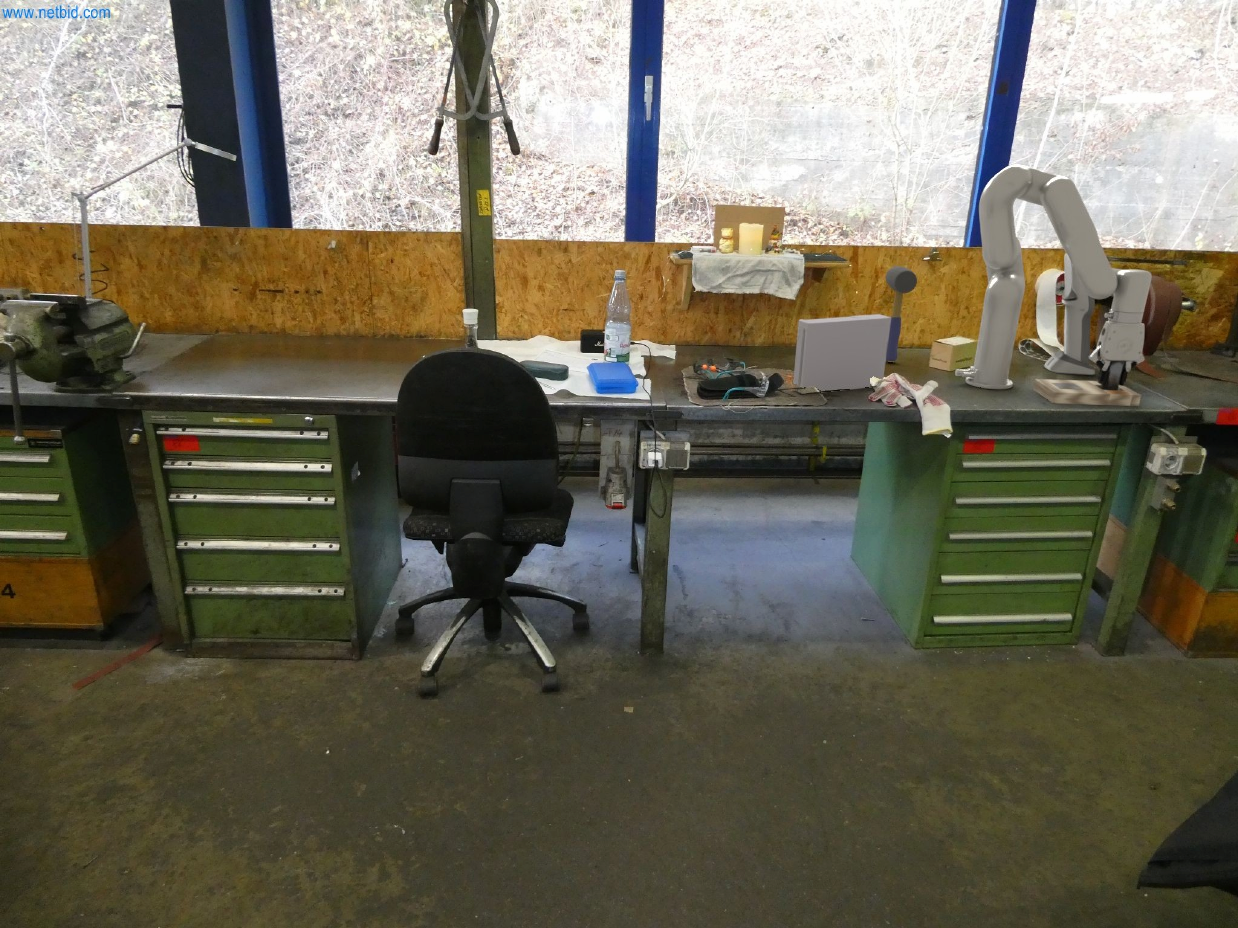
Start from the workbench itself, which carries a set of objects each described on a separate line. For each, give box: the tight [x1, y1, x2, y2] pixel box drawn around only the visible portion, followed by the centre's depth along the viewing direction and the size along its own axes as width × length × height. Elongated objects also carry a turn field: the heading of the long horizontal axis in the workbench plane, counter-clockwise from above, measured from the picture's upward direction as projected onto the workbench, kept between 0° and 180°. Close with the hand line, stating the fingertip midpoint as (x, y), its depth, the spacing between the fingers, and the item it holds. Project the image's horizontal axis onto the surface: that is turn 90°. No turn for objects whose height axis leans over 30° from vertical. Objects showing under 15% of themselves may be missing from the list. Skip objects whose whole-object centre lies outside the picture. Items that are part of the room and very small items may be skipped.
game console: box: [792, 313, 892, 391], centre depth 226 cm, size 6×27×20 cm, turn 111°
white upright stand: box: [1043, 252, 1096, 376], centre depth 245 cm, size 12×13×35 cm
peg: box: [1101, 361, 1125, 390], centre depth 219 cm, size 4×4×9 cm
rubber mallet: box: [885, 265, 918, 362], centre depth 254 cm, size 12×8×30 cm, turn 176°
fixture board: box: [1032, 378, 1142, 407], centre depth 222 cm, size 22×14×3 cm, turn 84°
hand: (1110, 383), depth 220 cm, fingers closed on peg, 4 cm apart
